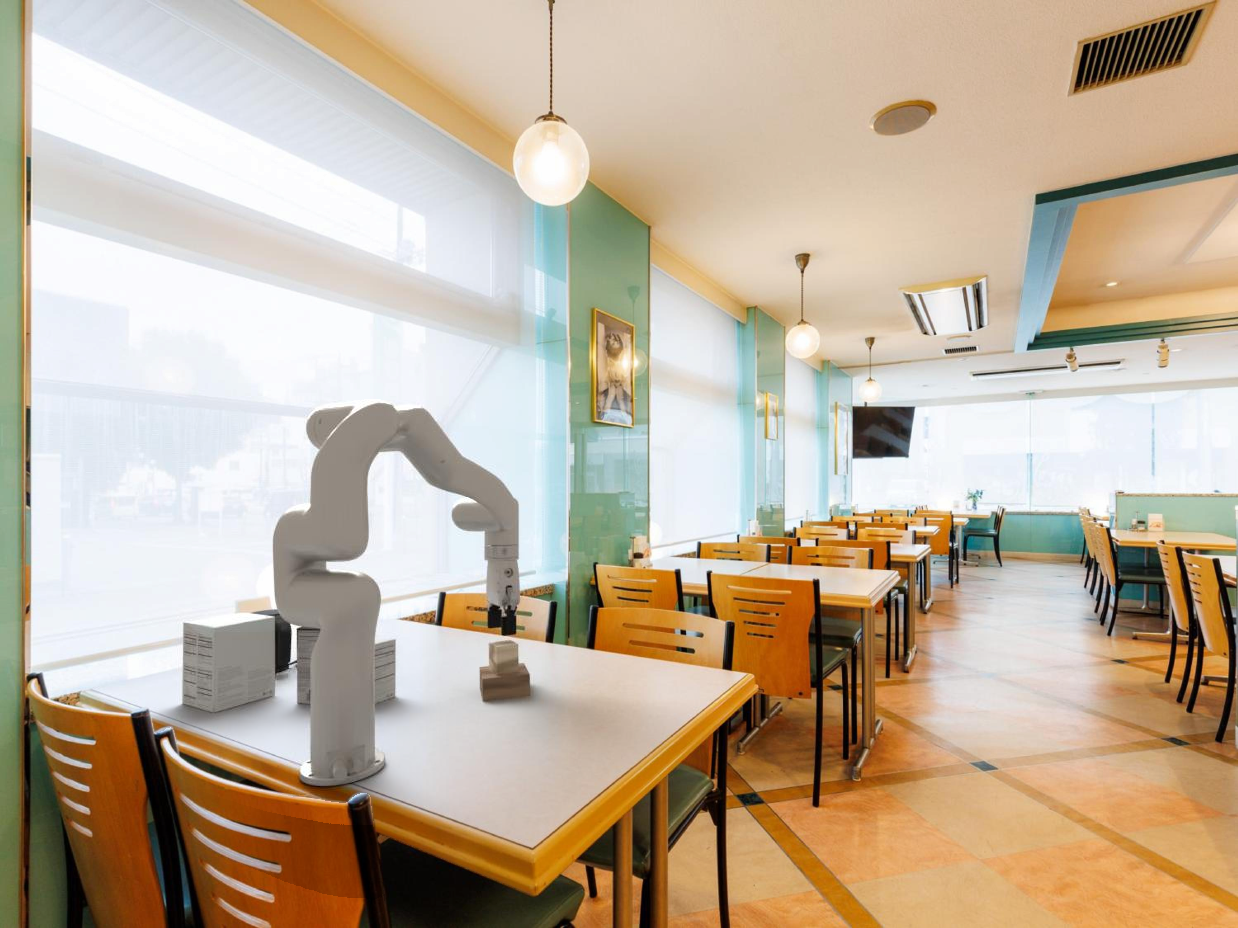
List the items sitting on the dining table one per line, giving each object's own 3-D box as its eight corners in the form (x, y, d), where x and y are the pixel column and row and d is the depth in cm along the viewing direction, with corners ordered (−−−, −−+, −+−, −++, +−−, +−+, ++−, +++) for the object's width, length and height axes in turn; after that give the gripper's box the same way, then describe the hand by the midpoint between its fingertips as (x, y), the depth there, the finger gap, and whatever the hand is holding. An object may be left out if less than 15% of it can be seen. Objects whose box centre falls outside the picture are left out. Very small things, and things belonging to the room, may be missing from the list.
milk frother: (238, 673, 162) (239, 614, 162) (289, 657, 177) (289, 603, 177) (283, 677, 157) (283, 616, 158) (331, 661, 172) (331, 605, 173)
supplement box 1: (243, 687, 150) (243, 611, 150) (276, 695, 143) (276, 615, 144) (180, 703, 138) (181, 621, 139) (213, 713, 132) (213, 627, 132)
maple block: (518, 671, 141) (518, 643, 141) (496, 675, 138) (496, 647, 138) (510, 666, 145) (510, 639, 145) (488, 670, 142) (488, 642, 143)
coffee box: (323, 690, 146) (323, 618, 146) (349, 691, 144) (348, 619, 145) (295, 703, 137) (295, 627, 137) (322, 705, 135) (322, 628, 136)
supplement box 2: (345, 701, 137) (345, 642, 138) (373, 692, 144) (372, 634, 144) (369, 706, 134) (369, 645, 134) (397, 696, 140) (396, 637, 141)
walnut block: (530, 697, 138) (529, 674, 138) (482, 702, 135) (482, 678, 136) (524, 684, 148) (523, 662, 148) (479, 689, 145) (479, 666, 145)
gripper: (531, 554, 137) (531, 636, 136) (505, 550, 152) (505, 623, 151) (497, 556, 133) (497, 639, 132) (474, 551, 148) (473, 626, 147)
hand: (501, 631), depth 142 cm, fingers open, 9 cm apart
